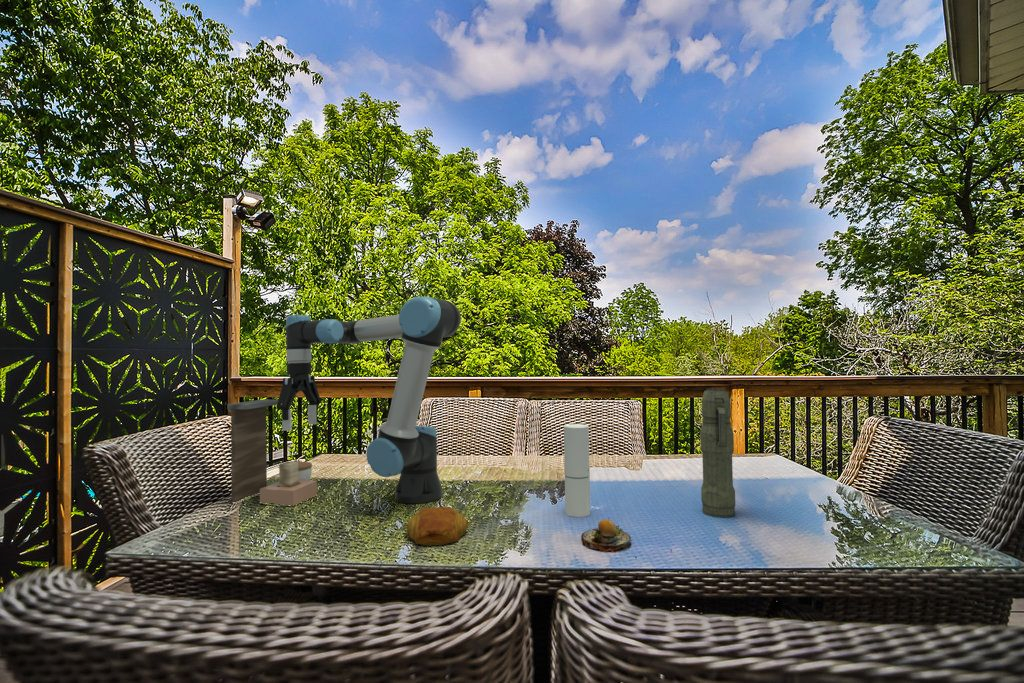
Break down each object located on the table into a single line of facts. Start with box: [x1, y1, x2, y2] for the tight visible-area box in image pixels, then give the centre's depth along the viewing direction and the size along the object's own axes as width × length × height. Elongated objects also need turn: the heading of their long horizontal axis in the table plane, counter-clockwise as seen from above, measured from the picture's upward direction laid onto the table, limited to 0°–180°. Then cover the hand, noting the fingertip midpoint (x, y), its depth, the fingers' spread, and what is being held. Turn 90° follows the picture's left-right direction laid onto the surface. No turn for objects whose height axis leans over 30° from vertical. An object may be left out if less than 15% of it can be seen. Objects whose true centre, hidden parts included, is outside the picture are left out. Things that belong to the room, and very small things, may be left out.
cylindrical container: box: [563, 423, 591, 518], centre depth 146 cm, size 7×7×25 cm
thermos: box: [699, 388, 736, 518], centre depth 145 cm, size 9×12×35 cm
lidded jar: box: [293, 459, 313, 481], centre depth 180 cm, size 11×11×9 cm
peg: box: [278, 461, 299, 488], centre depth 163 cm, size 4×4×12 cm
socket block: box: [259, 480, 318, 506], centre depth 163 cm, size 12×12×5 cm
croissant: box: [406, 506, 469, 546], centre depth 129 cm, size 14×16×8 cm
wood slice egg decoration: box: [580, 518, 632, 553], centre depth 123 cm, size 12×12×8 cm
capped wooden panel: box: [226, 399, 278, 503], centre depth 166 cm, size 7×16×32 cm, turn 167°
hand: (300, 427), depth 166 cm, fingers open, 13 cm apart
